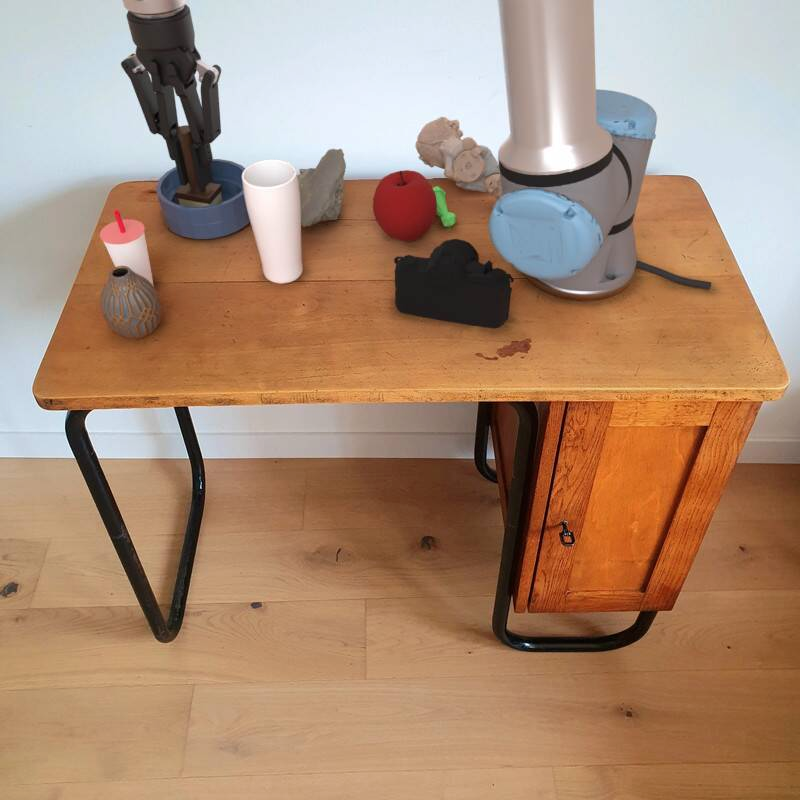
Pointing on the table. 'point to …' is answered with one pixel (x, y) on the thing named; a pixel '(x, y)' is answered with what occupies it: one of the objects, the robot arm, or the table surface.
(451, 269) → the film camera
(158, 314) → the vase
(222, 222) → the bowl
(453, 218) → the game piece
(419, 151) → the figurine
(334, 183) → the grey rock
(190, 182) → the brush
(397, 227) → the apple
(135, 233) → the cup
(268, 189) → the drinking glass
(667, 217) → the table surface
